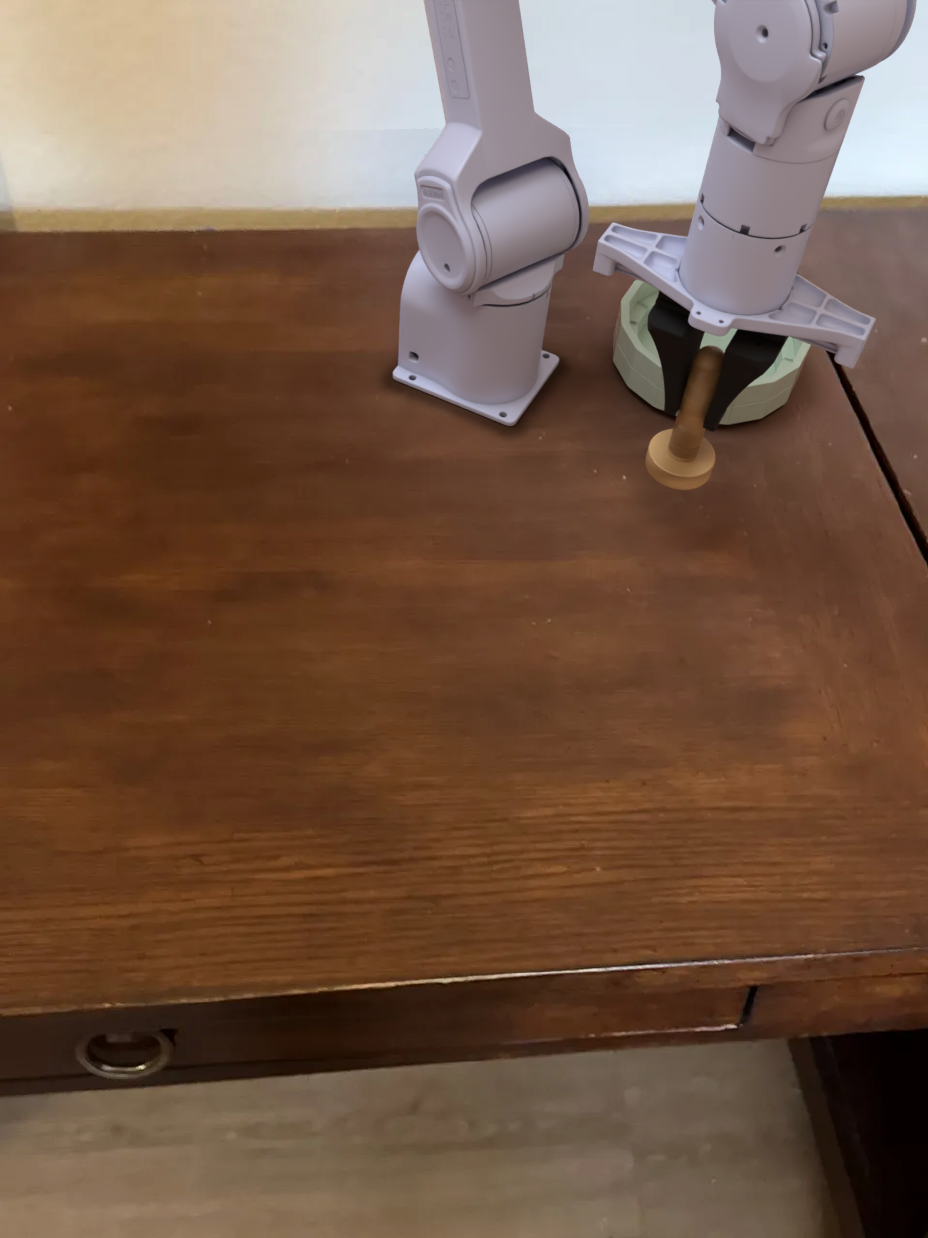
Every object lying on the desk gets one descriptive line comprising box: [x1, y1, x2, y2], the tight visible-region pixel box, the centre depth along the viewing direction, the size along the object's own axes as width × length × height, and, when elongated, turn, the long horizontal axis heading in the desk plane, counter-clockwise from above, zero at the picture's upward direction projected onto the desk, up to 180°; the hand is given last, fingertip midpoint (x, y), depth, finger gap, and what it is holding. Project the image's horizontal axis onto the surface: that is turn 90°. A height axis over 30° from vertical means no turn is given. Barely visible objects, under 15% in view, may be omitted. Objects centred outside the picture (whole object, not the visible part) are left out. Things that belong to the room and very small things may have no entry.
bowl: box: [612, 279, 812, 426], centre depth 86 cm, size 13×13×4 cm
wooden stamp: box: [644, 345, 724, 491], centre depth 69 cm, size 4×4×9 cm
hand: (694, 411), depth 69 cm, fingers closed on wooden stamp, 2 cm apart
